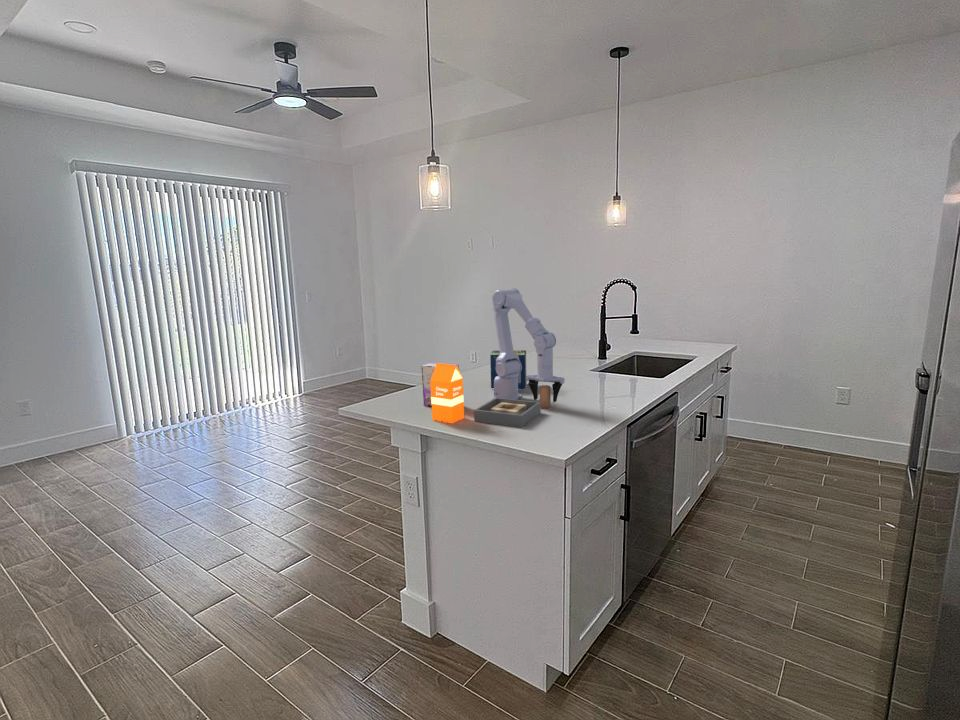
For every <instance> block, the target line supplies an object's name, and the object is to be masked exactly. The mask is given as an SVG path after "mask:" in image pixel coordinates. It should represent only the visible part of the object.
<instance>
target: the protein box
mask: <svg viewBox="0 0 960 720" xmlns="http://www.w3.org/2000/svg"><path fill="white" fill-rule="evenodd" d="M513 351H514V353H516V354H517V355H518V356H519V360H520V362H521V365H522V370H521V372H520V373H519V376H518V390H525V389H526V388H527V385H528V381H526V376H527V350H523V349H522V350H513ZM489 355H490V358H489V360H490V389H491V388H494V379H495V377H496V376H498V374H497V373H496V359H497V357H498V356H499V355H500V350H492V351H491V352H490V354H489ZM508 360H509V359H508ZM508 360H506V361H508ZM524 388H525V389H524Z"/></svg>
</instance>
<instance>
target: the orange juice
mask: <svg viewBox="0 0 960 720" xmlns="http://www.w3.org/2000/svg"><path fill="white" fill-rule="evenodd" d="M450 364H451V363H450ZM450 364H449V363H440V362H439V363H438V362H437V363H436V366H435V369H434V372H433V375H432V378H431V380H430V382H431V404H432V407H431V419H433V420H432V421H435V420H437V422H441V421H443V422H442V423H447V422H448V423H449V424H454V423H456V422H458V421H460V420H462V419H464V418H465V407H464V403H465V402H464V401H465V399H464V398H465V397H464V378H463V376H462V374H461V372H460V369H459V370H458V368H457V366H456V365H457V364H455V365H450Z"/></svg>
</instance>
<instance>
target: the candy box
mask: <svg viewBox="0 0 960 720" xmlns="http://www.w3.org/2000/svg"><path fill="white" fill-rule="evenodd" d="M450 365H456V366H457V368H458V370H459V371H460V367H459V366H460V364H452V363H450ZM435 366H436V363H435V362H428V363H425V364H422V365H421V377H422V378H421V380H422V394H423V406H424V405H428V406H427V407H431V406H432V404H431V382H430V380H431V378H432V375H433V372H434V369H435Z"/></svg>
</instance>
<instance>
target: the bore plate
mask: <svg viewBox="0 0 960 720" xmlns="http://www.w3.org/2000/svg"><path fill="white" fill-rule="evenodd" d="M526 410H527V405H525V404H516V403H506V402H501V403H499V404H498V405H496V406H495V407H493V408H491V409H490V411H492V412H501V413H509V414H518V415H520V414H522V413H523V412H524V411H526Z"/></svg>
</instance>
